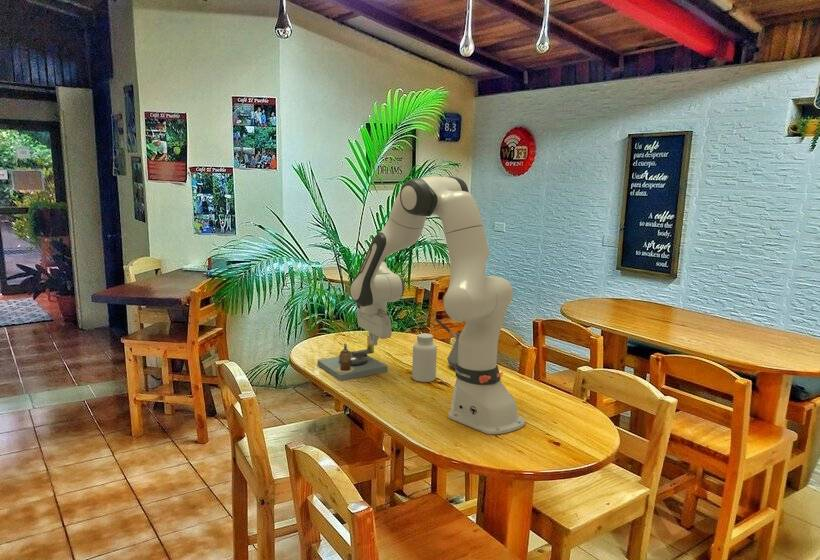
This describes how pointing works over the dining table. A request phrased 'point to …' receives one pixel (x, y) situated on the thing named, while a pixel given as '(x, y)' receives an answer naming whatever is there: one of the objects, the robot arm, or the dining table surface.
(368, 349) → the dial
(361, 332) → the dining table surface
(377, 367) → the board
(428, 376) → the pill bottle
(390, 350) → the dining table surface
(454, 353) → the coffee pot
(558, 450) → the dining table surface
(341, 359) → the brown bottle
